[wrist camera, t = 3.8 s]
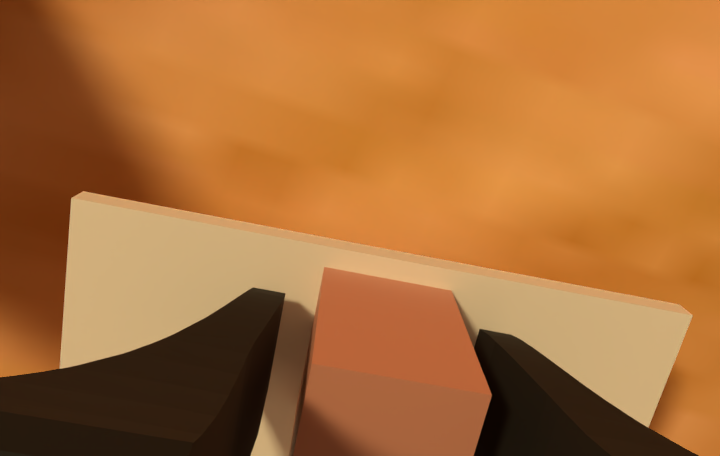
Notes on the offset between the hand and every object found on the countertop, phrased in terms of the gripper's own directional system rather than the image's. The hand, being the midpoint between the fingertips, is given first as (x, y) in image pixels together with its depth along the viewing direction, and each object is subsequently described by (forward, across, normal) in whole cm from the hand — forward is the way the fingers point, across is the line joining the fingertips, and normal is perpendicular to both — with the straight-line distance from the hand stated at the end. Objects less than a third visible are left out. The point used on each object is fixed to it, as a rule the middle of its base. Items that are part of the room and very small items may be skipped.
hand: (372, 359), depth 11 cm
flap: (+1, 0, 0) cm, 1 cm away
